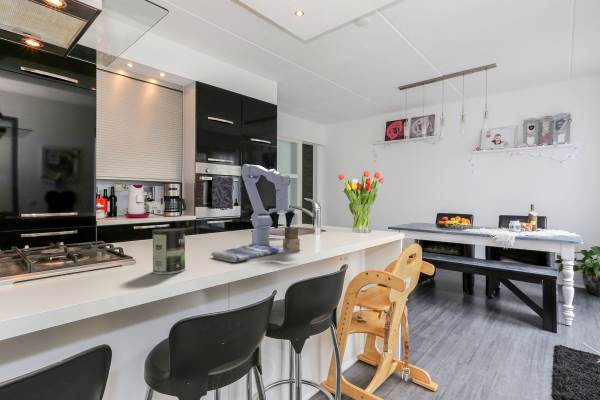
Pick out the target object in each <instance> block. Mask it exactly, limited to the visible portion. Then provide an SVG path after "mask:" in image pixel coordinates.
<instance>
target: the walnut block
mask: <svg viewBox="0 0 600 400" xmlns="http://www.w3.org/2000/svg"><path fill="white" fill-rule="evenodd" d="M284 238H286V239H298V238H299V227H296V226H295V227H293V226H290V227H284Z"/></svg>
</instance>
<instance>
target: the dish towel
mask: <svg viewBox="0 0 600 400" xmlns="http://www.w3.org/2000/svg"><path fill="white" fill-rule="evenodd" d="M278 251H279V250H278V249H275V248H272V246H267V245H256V244H253V243H251V244H247V245H241V246H240V247H235V248H229V249H224V250H220V251H216V250H214V251H213V252H211V253H210V256H212V257H213V259H218V260H221V261H226V262H230V263H231V262H232V263H238V262H242V261H246V260H251V259H256V258H260V257H265V256H268V255H269V256H270V255H271V254H272V255H273V254H277V253H276V252H278Z"/></svg>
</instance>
